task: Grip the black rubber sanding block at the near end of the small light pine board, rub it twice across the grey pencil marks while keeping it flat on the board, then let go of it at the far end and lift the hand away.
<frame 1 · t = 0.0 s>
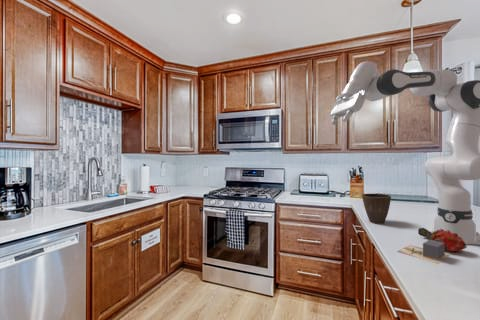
hand: (338, 122, 104), 54 cm above the counter, tool tilted 30°, fingers open, 8 cm apart
plant pot: (376, 222, 140), on the counter
dragon fruit: (445, 250, 94), point 1 cm above the counter, touching dark brown rough rod
pine board: (422, 257, 91), on the counter
dark brown rough rod: (433, 242, 104), point 1 cm above the counter, touching dragon fruit
sanding block: (433, 256, 88), point 1 cm above the counter, touching pine board
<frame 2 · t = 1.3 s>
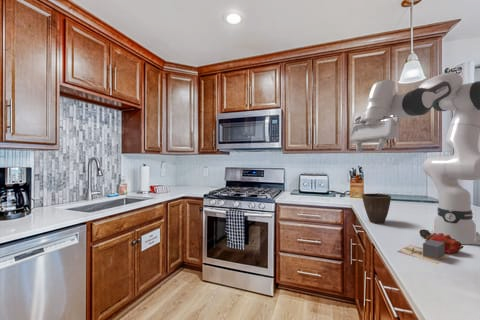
hand: (367, 151, 94), 41 cm above the counter, tool tilted 20°, fingers open, 8 cm apart
dragon fruit: (443, 253, 93), on the counter, touching dark brown rough rod
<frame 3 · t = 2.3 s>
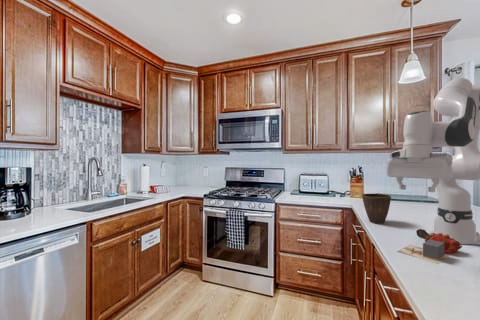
hand: (416, 190, 88), 26 cm above the counter, tool pointing down, fingers open, 8 cm apart
dark brown rough rod: (431, 244, 104), on the counter, touching dragon fruit
everything else where it was.
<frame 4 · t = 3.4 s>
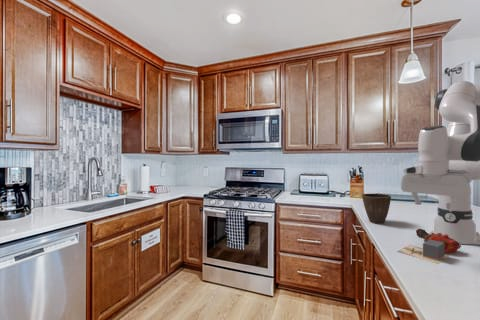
hand: (433, 206, 88), 20 cm above the counter, tool pointing down, fingers open, 8 cm apart
nothing on the counter moved.
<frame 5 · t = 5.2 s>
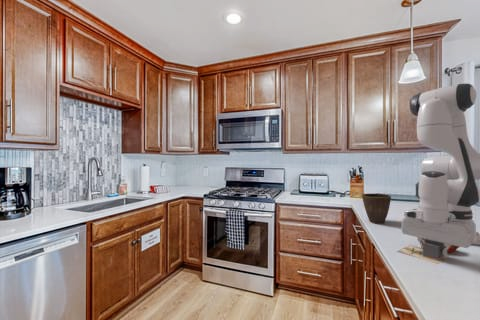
hand: (433, 252, 88), 3 cm above the counter, tool pointing down, fingers closed on sanding block, 4 cm apart
sanding block: (433, 256, 88), point 1 cm above the counter, touching gripper, pine board
when the fingers open (3 cm above the counter, at t = 6.6 s): sanding block stays where it is, resting on pine board.
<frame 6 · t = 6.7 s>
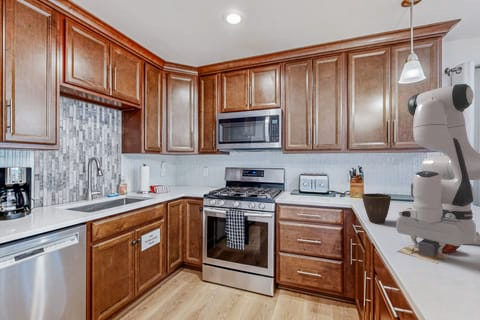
hand: (427, 250, 89), 3 cm above the counter, tool pointing down, fingers open, 5 cm apart
sanding block: (429, 255, 89), point 2 cm above the counter, touching gripper, pine board
everything else where it was.
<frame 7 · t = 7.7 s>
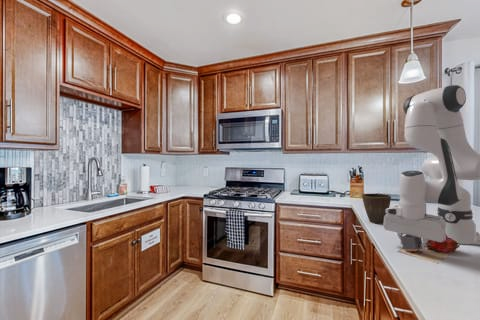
hand: (412, 246, 93), 3 cm above the counter, tool pointing down, fingers closed on sanding block, 5 cm apart
sanding block: (413, 248, 93), point 2 cm above the counter, tilted 14°, touching gripper
everything else where it was.
when the fingers open (3 cm above the counter, at t = 11.1 s): sanding block stays where it is, resting on pine board.
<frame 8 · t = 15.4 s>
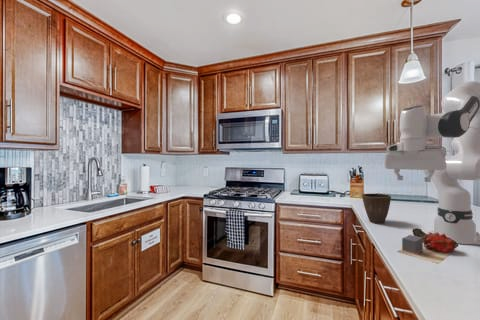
hand: (413, 181, 95), 29 cm above the counter, tool pointing down, fingers open, 8 cm apart
sanding block: (412, 250, 93), point 2 cm above the counter, touching pine board
at the end: sanding block inside the target area (0.2 cm from its centre), point 1.5 cm above the counter; sanding block tilted 0°; the gripper is holding nothing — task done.
